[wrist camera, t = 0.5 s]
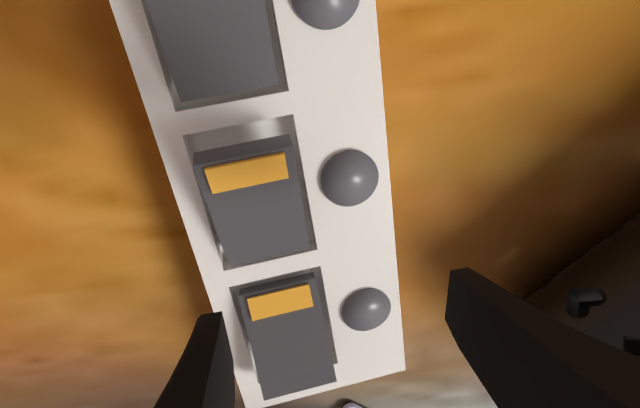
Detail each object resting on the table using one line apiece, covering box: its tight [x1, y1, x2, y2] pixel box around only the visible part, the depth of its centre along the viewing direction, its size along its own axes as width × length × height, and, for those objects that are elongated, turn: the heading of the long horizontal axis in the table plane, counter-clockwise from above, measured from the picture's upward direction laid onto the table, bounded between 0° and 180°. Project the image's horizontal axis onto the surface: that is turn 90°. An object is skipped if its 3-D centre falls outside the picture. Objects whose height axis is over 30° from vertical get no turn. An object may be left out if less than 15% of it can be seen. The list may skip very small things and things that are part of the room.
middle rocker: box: [193, 134, 310, 267], centre depth 18 cm, size 6×4×1 cm, turn 9°
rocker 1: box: [145, 0, 279, 102], centre depth 15 cm, size 6×4×1 cm, turn 9°
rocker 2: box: [238, 272, 337, 401], centre depth 22 cm, size 6×4×1 cm, turn 8°
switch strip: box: [109, 0, 405, 408], centre depth 20 cm, size 27×10×3 cm, turn 9°
